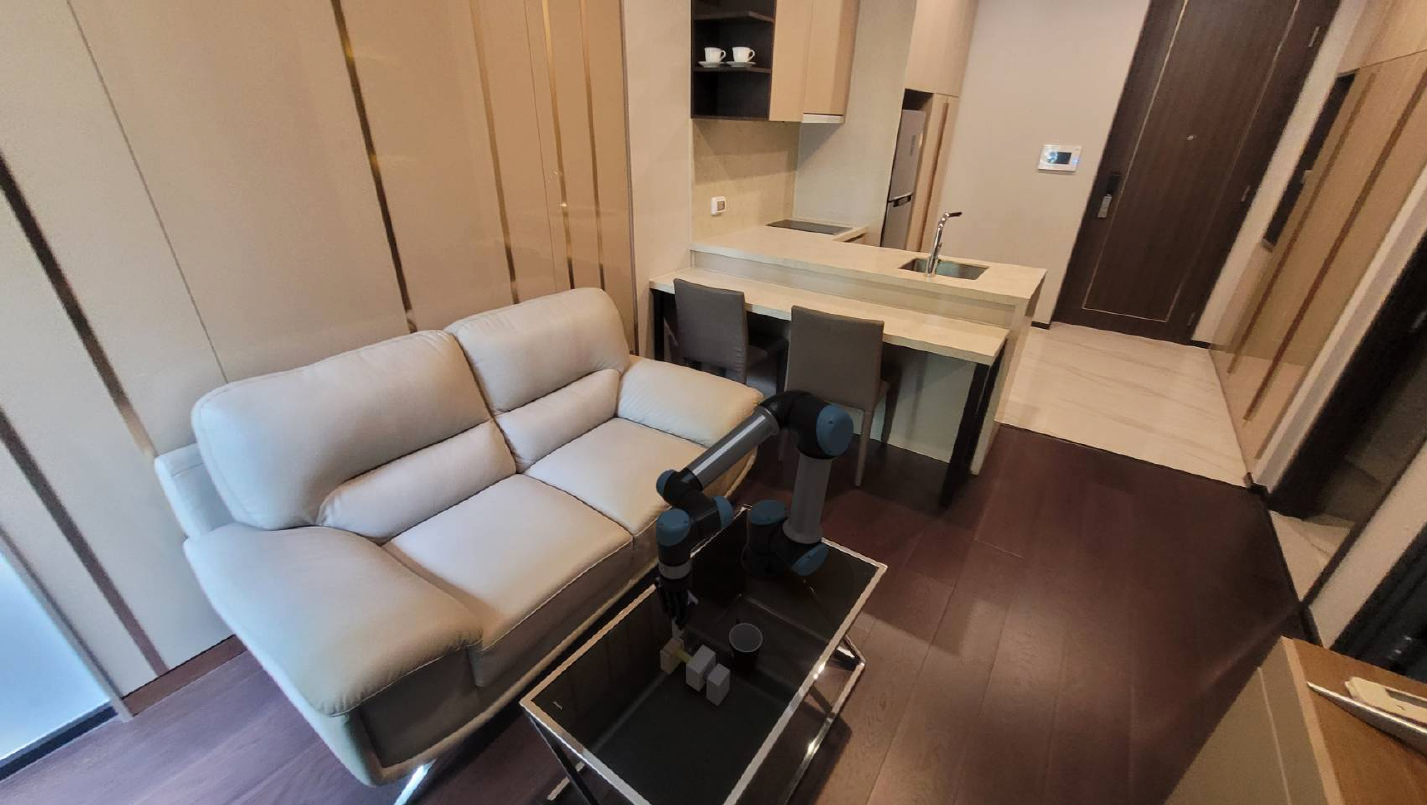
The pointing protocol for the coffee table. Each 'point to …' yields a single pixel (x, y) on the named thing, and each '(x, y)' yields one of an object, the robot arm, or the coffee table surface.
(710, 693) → the blocks on yellow rod
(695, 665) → the sleeve
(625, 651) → the coffee table surface
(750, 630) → the coffee mug
